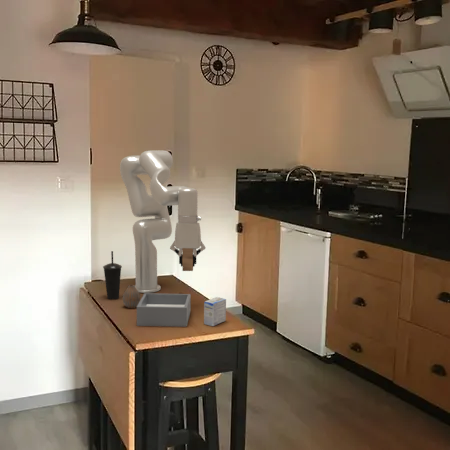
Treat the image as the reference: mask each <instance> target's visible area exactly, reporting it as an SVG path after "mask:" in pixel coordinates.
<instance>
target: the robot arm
mask: <svg viewBox="0 0 450 450" xmlns="http://www.w3.org/2000/svg"><path fill="white" fill-rule="evenodd" d="M173 165H174V158H173V156H172V154H171V153H170V152H169V151H167V150H162V149H160V150H158V149H157V150H156V149H155V150H145V151H143V152H141V153H140V155H128V156H125V157H123V158H122V159H121V161H120V164H119V173H120V176H121V180H122V182H123V183H124V186H125V188H126V192H127V196H128V200H129V205H130V209H131V212H132V215H133V216H134V217H136V218H143V219H139V220H136V221H135V222H134V223H133V225H132V236H133V240H134V249H135V251H134V256H135V261H134V262H135V268H134V269H135V284H133V285H134V286H135V288H136V289H137V290H138V292H139V294H141V293H143V294H144V293H156V292H159V291H160V290H161V289H162V288H161V285H160V284H158V252H157V251H158V250H157V247H156V246H155V244H154V243H153V241H157V240H165V239H166V240H167V239H168V238H170V237H171V235H172V232H173V229H172V222H171V219H170V214H169V209H168V206H169V207H170V206H177V222H176V223H175V231H174V241H173V242H172V244H171V246H170V247H169V249H170V250H172V251H173V252H174V253H176V255H178V257H179V258H178V259H179V260H178V264H179V265H180V267H182V268H183V263H182V248H193V268H194V267H195V266H196V264H197V256H198V255H199V254H200V253H201V252H203V251H205V250H206V246H205V244H204V243H203V241H202V234H201V233H202V232H201V226H200V221H201V220H202V217H201V216H199V215H198V190H197V189H196V188H193V187H188V186H186V185H175V186H174V185H173V186H170V185H169V186H164V184H166V183H167V182H168V181H169V179H170V178H171V175H172V173H171V168H172V167H173ZM140 175H141V176H143V175H147V176H148V177H149V178H150V181H149V182H150V183H149V190H150V194H151V195H150V194H149V193H148V191H147V185H146V184H145V182H144V181H143V180H142V178H140V177H139V176H140ZM150 217H154V218H150Z"/></svg>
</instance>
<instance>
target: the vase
mask: <svg viewBox="0 0 450 450" xmlns="http://www.w3.org/2000/svg"><path fill="white" fill-rule="evenodd" d="M134 285H135V284H129V285H128V286H127V288H126V289H125V290H124V291H123V294H122V303H123V305H124V306H125V308H127V309H134V308H137V305H138V304H139V302H140V300H141V295H140V294H141V293H139V292H138V290H137V289H136V288H135V286H134Z"/></svg>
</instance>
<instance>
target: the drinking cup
mask: <svg viewBox="0 0 450 450" xmlns="http://www.w3.org/2000/svg"><path fill="white" fill-rule="evenodd" d="M110 253H111V254H110V255H111V258H110V259H111V262H110V263H106V264H104V265H103V266H102V268H103V273H104V281H105V290H106V291H105V292H106V299H108V300H118V299H119V298H120V289H121V287H120V286H121V276H122V275H121V273H122V272H121V271H122V268H123V267H122V265H121V264H119V263H115V262H114V251H111V252H110Z"/></svg>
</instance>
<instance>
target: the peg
mask: <svg viewBox="0 0 450 450" xmlns="http://www.w3.org/2000/svg"><path fill="white" fill-rule="evenodd" d="M193 254H194V253H193V248H182V263H183V266H182V272H193V271H194V267H193Z"/></svg>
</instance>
